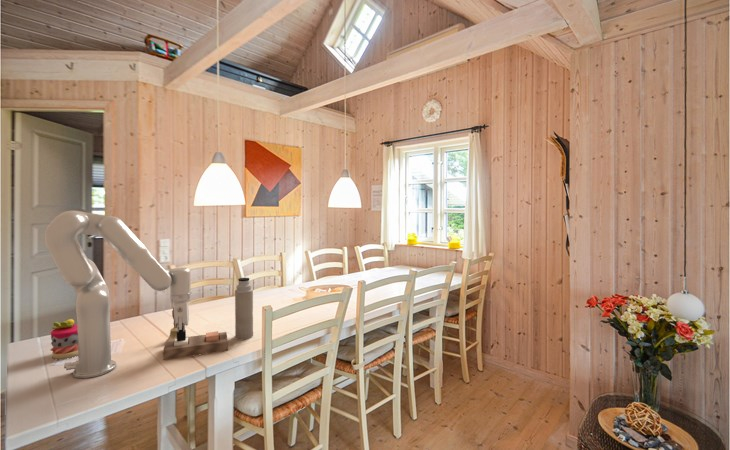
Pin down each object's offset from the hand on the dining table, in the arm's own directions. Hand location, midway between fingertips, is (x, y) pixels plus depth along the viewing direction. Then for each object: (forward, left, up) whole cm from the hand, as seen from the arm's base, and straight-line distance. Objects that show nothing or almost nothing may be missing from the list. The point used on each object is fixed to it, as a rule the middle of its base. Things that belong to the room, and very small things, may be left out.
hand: (181, 340), depth 145 cm
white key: (0, 0, -3) cm, 3 cm away
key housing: (+6, 0, -5) cm, 8 cm away
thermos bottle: (+26, +8, -5) cm, 28 cm away
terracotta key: (+12, 0, -2) cm, 12 cm away
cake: (-42, +15, -5) cm, 45 cm away
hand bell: (-3, +15, -5) cm, 16 cm away
